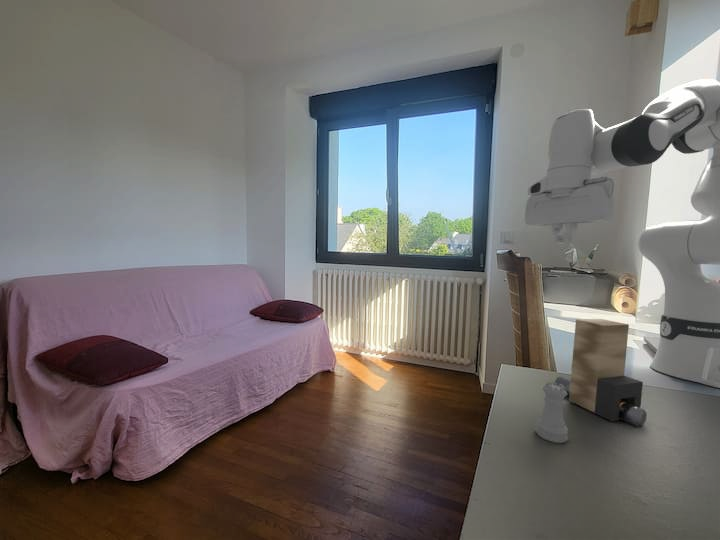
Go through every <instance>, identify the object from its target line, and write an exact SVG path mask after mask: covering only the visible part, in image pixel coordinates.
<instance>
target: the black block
mask: <svg viewBox="0 0 720 540" xmlns="http://www.w3.org/2000/svg"><path fill="white" fill-rule="evenodd" d="M643 384H644V381H641V380H639V379H635V378H632V377H630V376H626V375H624V376H617V377H608V378H599V379H598V380H597V391H596V402H595V413H594V414H596V415H598V416H600V417H602V418H604V419H607V420H608V421H611V422H615V421H616V422H617V421H620V420H619V419H620V418H619V411H620V400H621V401H624V402H626V403H629V404H631V405H634V406H636V407H639V408H641V406H642V405H641V404H642V394H643Z"/></svg>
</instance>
